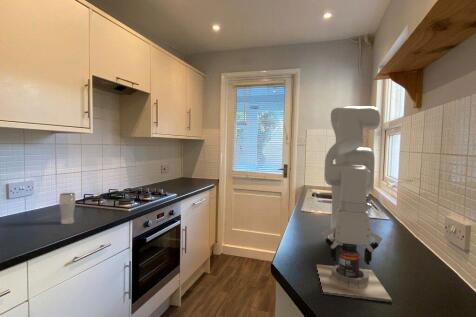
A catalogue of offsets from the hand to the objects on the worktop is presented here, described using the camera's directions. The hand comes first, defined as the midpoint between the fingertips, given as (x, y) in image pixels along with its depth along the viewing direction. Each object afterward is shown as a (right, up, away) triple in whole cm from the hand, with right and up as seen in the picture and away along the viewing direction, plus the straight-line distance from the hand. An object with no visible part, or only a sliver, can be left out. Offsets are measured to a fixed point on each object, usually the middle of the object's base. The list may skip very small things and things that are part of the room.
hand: (350, 261), depth 83 cm
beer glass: (-123, -1, +56) cm, 135 cm away
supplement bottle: (0, -6, 0) cm, 6 cm away
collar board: (0, -7, 0) cm, 7 cm away
